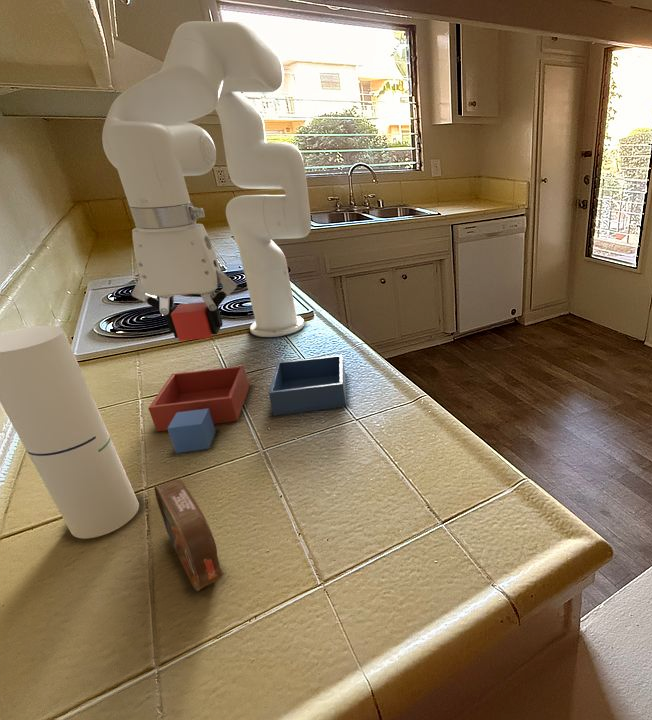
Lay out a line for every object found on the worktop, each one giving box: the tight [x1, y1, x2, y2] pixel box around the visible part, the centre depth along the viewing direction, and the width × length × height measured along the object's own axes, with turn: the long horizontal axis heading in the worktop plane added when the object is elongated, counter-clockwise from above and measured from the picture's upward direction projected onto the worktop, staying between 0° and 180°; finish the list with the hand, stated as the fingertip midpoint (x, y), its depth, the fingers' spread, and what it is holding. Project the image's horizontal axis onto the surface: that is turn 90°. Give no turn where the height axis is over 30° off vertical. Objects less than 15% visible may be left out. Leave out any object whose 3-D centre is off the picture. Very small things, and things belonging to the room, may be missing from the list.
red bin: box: [147, 365, 250, 432], centre depth 82 cm, size 12×12×5 cm
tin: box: [153, 478, 224, 592], centre depth 52 cm, size 15×3×8 cm, turn 45°
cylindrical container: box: [0, 324, 140, 539], centre depth 54 cm, size 7×7×25 cm
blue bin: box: [268, 354, 347, 417], centre depth 86 cm, size 12×12×5 cm
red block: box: [171, 301, 214, 342], centre depth 74 cm, size 5×5×5 cm
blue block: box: [167, 408, 217, 454], centre depth 72 cm, size 5×5×5 cm
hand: (198, 331), depth 75 cm, fingers closed on red block, 4 cm apart
